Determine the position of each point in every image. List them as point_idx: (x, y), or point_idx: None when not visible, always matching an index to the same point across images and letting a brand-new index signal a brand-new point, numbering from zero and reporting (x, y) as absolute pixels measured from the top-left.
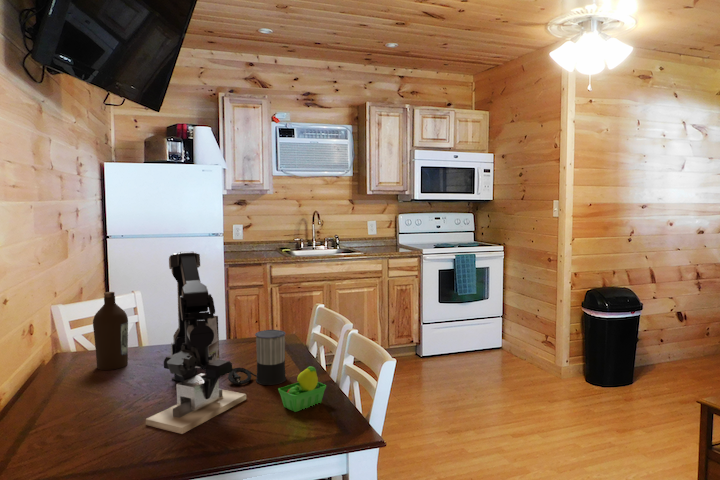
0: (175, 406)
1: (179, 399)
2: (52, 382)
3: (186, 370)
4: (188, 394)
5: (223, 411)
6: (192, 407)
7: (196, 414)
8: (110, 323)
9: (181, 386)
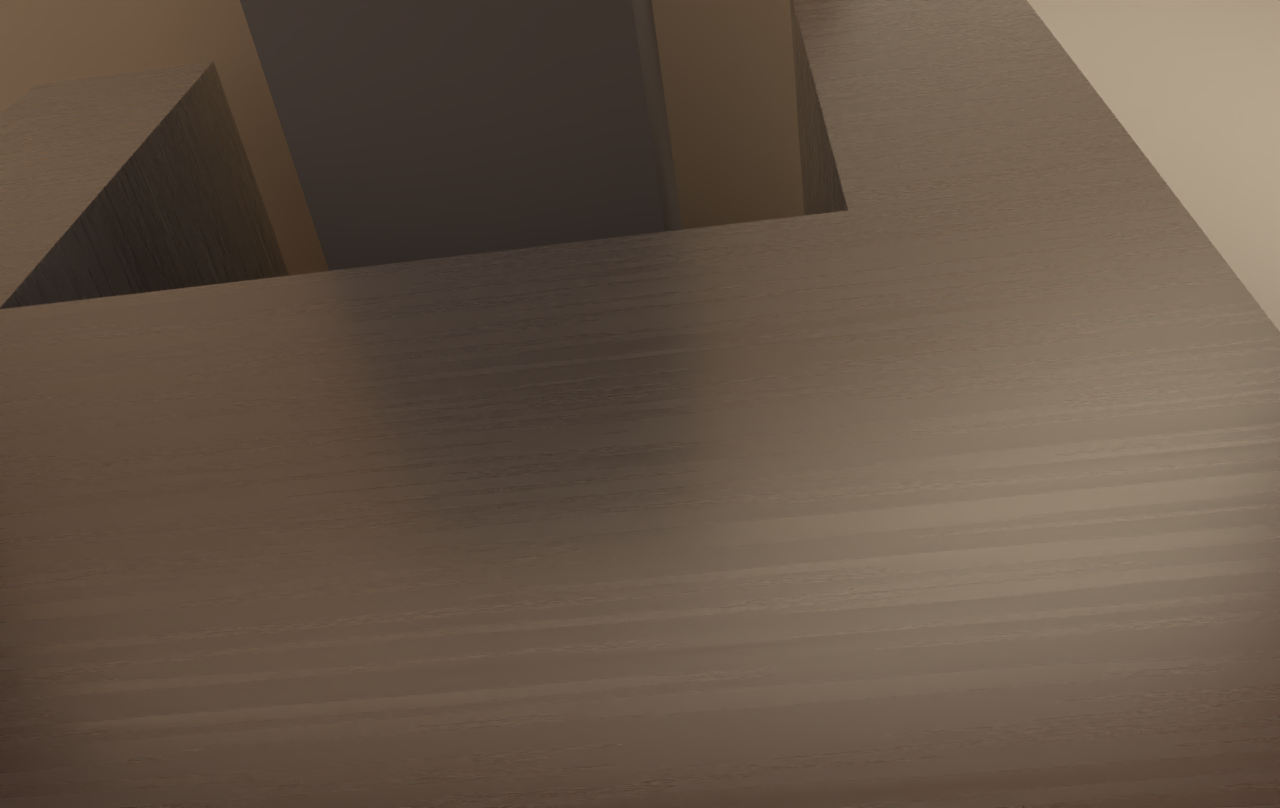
0: (1276, 100)
1: (886, 105)
2: None
3: None
4: (84, 410)
5: None
6: (98, 109)
7: (2, 38)
8: None
9: (753, 757)
